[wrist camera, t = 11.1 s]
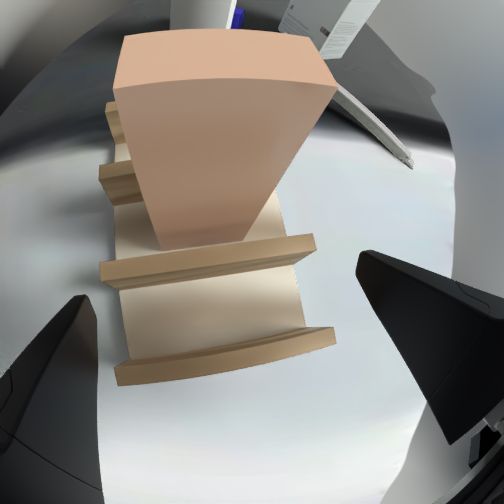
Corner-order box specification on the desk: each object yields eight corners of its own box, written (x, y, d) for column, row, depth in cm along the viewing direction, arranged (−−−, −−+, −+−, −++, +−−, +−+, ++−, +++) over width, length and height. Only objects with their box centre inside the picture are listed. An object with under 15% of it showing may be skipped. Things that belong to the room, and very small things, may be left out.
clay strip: (242, 240, 19) (338, 86, 6) (162, 251, 18) (112, 88, 5) (236, 207, 20) (309, 37, 7) (158, 216, 19) (124, 36, 5)
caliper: (254, 73, 26) (268, 29, 20) (258, 69, 26) (272, 26, 20) (411, 170, 27) (446, 143, 21) (412, 164, 27) (446, 137, 21)
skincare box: (276, 30, 29) (309, -54, 15) (306, 28, 31) (342, -45, 17) (316, 63, 28) (365, -27, 14) (345, 60, 30) (393, -17, 16)
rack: (303, 340, 19) (336, 343, 15) (135, 371, 17) (117, 386, 12) (255, 129, 23) (269, 90, 19) (118, 142, 20) (106, 102, 16)
